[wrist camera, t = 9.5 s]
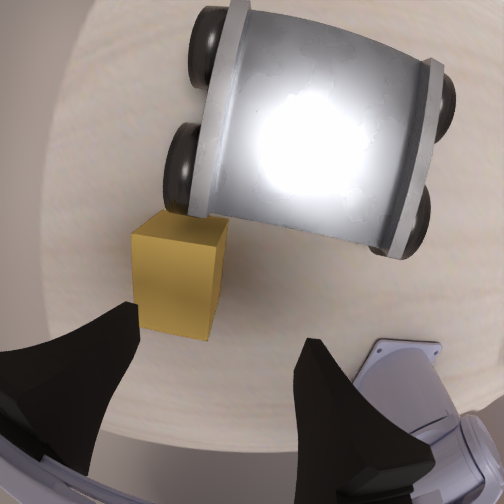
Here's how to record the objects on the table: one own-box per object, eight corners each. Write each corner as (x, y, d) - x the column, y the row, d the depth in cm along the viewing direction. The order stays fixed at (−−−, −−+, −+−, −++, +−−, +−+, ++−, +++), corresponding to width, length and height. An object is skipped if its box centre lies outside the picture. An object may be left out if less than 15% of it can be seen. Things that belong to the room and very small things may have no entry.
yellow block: (219, 297, 20) (207, 341, 16) (161, 286, 20) (136, 326, 16) (229, 218, 18) (216, 246, 13) (163, 209, 18) (131, 233, 13)
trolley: (379, 242, 18) (417, 282, 12) (186, 202, 17) (151, 230, 12) (416, 78, 13) (468, 64, 8) (220, 26, 13) (200, -18, 7)
